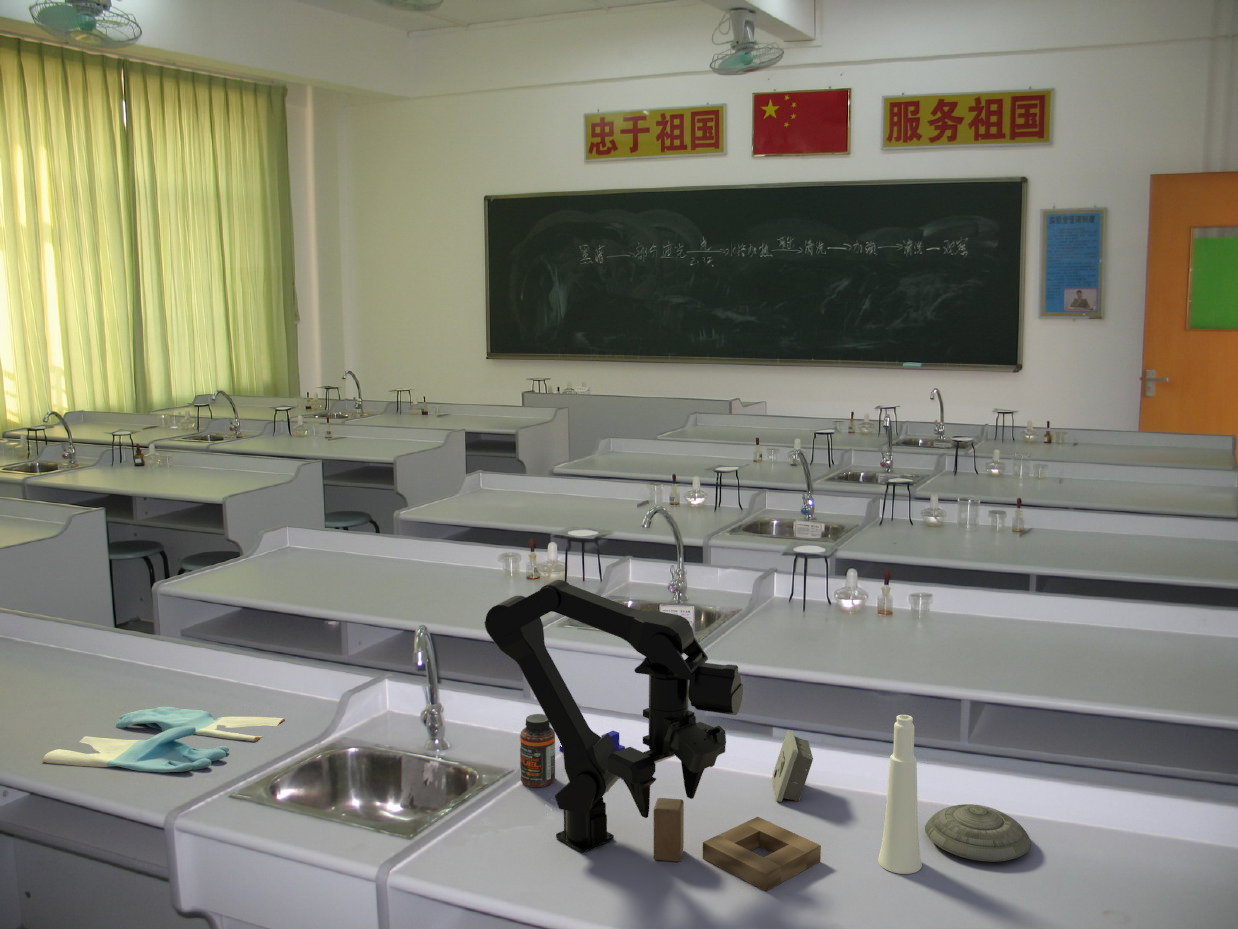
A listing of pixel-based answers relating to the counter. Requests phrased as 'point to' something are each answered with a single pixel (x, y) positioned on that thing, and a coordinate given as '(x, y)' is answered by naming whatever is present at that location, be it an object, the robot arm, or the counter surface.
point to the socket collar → (760, 871)
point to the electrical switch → (792, 768)
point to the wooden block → (668, 829)
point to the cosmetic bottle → (901, 804)
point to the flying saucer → (978, 833)
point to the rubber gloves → (161, 741)
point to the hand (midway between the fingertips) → (667, 807)
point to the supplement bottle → (537, 752)
